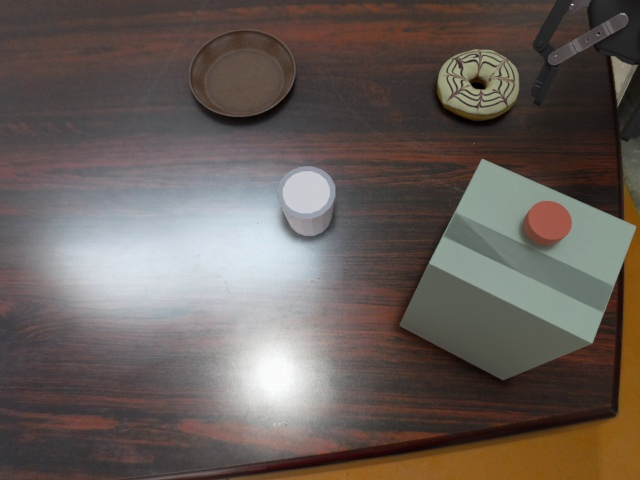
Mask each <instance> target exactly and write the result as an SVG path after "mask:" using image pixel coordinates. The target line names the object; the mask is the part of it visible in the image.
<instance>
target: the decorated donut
mask: <svg viewBox="0 0 640 480" xmlns="http://www.w3.org/2000/svg"><path fill="white" fill-rule="evenodd" d="M519 75H520V74H519V72H518V69H517V67H516V65H514V64H513V62H512V61H511V60H510V59H509V58H507V57H505V56H503V55H502V54H499V53H498V52H496V51H494V50H492V49H478V48H476V49H475V48H474V49H472V50H468V51H464V52H461V53H458V54H455V55H453V56H452V57H450V58H449V59H448V60H446V61H445V62H444V63H443V64H442V66H441V68H440V70H439V72H438V77H437V81H436V94H437V97H438V100H439V101H440V103H441V105H442V106H443V108H444V109H445V110H447V111H449V112H451V113H453V114H454V115H456V116H459V117H461V118H464V119H467V120H471V121H474V122H475V121H478V122H479V121H480V122H482V121H489V120H493V119H495V118H498V117H500V116H501V115H503V114H505V113H506V112H507V111H509V110H510V109H511V108H513V106H514V105H515V104H516V102H517V98H518V97H519V92H520V76H519ZM472 83H475V84H476V83H479V84H481V85H482V86H484V89H479V88H475V87H473V86H472Z"/></svg>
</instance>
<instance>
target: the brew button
mask: <svg viewBox="0 0 640 480" xmlns="http://www.w3.org/2000/svg"><path fill="white" fill-rule="evenodd" d="M523 225H524V230H525V232H526V234H527V235H528V237H529V238H530V239H532V240H533V241H534V242H536V243H538V244H541V245H554V244H556V243H558V242H560V241H561V240H562V239H563V238H564V237H565V236H566V235H567V234H568V233H569V232H570V230H571V227H572V219H571V216H570V214H569V212H568V211H567V210H566V209H565V208H564V207H563V206H562V205H560V204H559V203H556V202H553V201H541V202H538V203H536V204H535V205H534V206H533V207H532V208H531V209H530V210H529V211H528V213H527V214H526V216H525V218H524V222H523Z"/></svg>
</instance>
